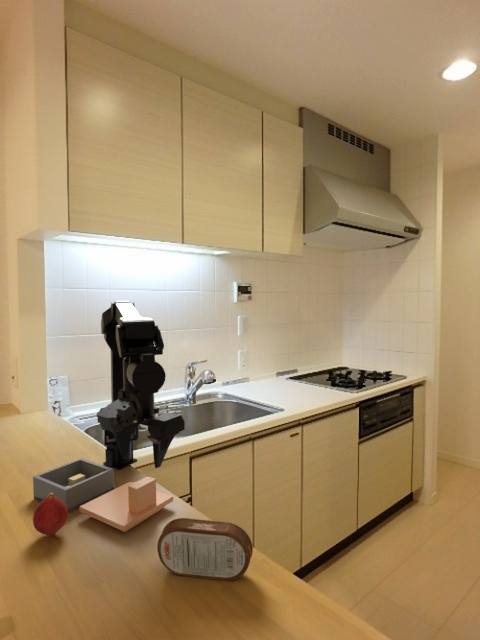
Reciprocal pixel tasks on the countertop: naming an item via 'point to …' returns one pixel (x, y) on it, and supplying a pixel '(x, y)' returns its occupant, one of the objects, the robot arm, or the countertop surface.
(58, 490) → the tub
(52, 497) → the onion
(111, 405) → the robot arm
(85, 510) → the lid
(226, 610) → the countertop surface
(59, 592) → the countertop surface
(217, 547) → the tin
